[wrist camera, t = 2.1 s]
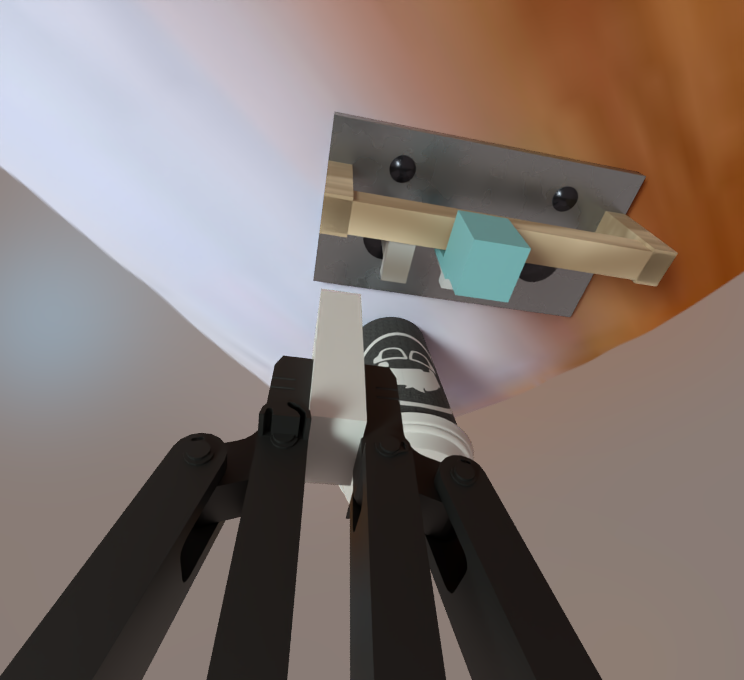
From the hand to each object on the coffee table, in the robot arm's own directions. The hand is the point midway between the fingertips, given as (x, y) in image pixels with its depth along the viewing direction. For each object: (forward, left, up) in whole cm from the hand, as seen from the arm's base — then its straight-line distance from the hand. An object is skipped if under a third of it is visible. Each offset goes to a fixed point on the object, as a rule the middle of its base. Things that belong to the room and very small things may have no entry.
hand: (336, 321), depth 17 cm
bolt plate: (+2, +10, -18) cm, 20 cm away
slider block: (+1, +8, -16) cm, 18 cm away
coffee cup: (+14, +6, -18) cm, 24 cm away
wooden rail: (+1, +10, -17) cm, 19 cm away
